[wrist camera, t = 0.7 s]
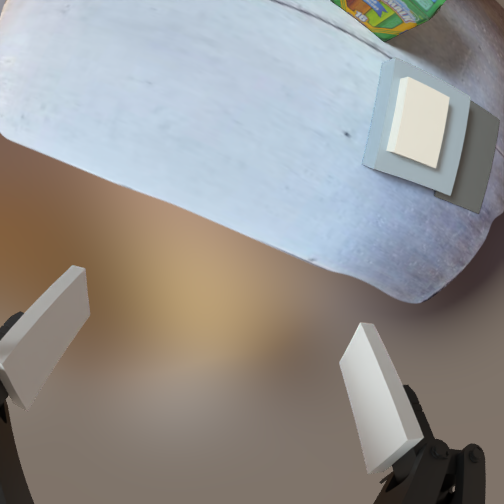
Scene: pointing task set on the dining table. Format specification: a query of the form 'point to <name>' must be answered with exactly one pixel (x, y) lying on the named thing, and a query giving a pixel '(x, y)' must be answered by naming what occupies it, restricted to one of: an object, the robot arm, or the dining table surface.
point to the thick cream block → (418, 122)
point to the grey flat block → (382, 124)
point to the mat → (474, 160)
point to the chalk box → (390, 14)
